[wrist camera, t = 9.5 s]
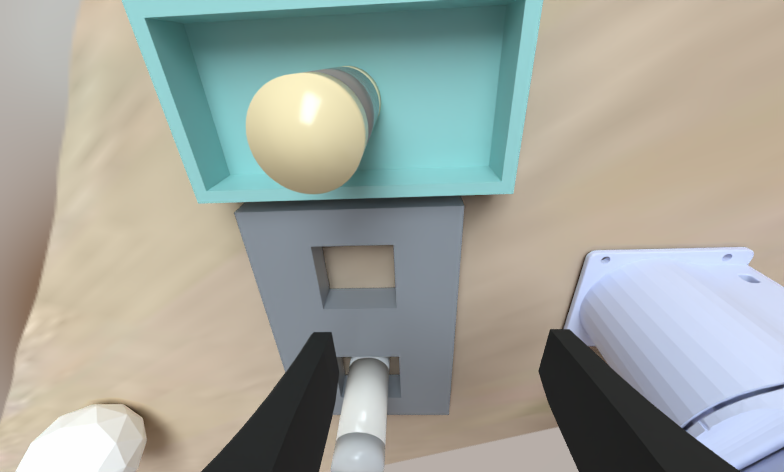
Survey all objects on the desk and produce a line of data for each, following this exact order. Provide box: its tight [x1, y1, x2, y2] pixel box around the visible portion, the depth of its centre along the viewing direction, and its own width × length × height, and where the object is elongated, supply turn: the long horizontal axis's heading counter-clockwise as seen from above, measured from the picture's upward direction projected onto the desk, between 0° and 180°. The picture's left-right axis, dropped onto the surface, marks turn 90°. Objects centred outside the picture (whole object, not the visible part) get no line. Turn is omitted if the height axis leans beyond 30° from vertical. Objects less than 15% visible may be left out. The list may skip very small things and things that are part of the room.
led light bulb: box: [246, 66, 381, 194], centre depth 12 cm, size 3×3×8 cm
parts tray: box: [122, 0, 543, 203], centre depth 14 cm, size 15×8×3 cm, turn 92°
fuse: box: [331, 357, 390, 472], centre depth 21 cm, size 3×3×8 cm
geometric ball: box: [16, 404, 147, 472], centre depth 26 cm, size 8×8×8 cm
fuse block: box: [234, 195, 464, 415], centre depth 22 cm, size 12×18×2 cm, turn 2°
